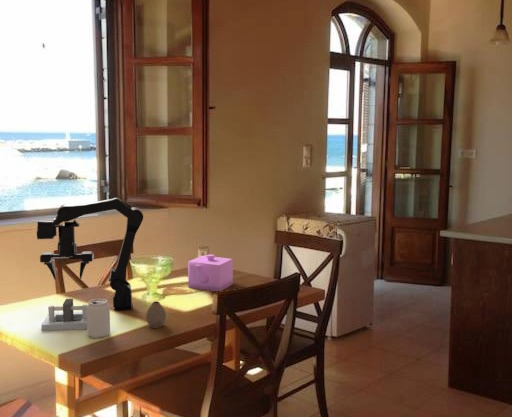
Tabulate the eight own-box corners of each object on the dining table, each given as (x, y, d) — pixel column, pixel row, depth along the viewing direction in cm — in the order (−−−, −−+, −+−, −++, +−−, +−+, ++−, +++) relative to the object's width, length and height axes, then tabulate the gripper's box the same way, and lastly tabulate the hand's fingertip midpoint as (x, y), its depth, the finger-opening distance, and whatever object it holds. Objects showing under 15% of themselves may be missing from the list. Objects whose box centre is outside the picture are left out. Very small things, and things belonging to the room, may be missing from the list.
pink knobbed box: (179, 291, 256) (179, 259, 254) (207, 277, 279) (207, 248, 277) (211, 296, 250) (211, 263, 248) (237, 281, 273) (237, 251, 271)
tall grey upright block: (73, 319, 219) (72, 298, 218) (70, 325, 213) (69, 304, 211) (66, 319, 219) (66, 298, 218) (63, 325, 212) (62, 304, 211)
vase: (157, 330, 210) (156, 306, 208) (142, 327, 213) (141, 303, 212) (170, 325, 215) (169, 301, 214) (155, 321, 219) (155, 298, 218)
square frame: (93, 316, 223) (93, 299, 222) (89, 328, 211) (88, 310, 210) (49, 318, 221) (48, 300, 220) (41, 330, 208) (40, 312, 207)
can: (89, 331, 208) (88, 297, 206) (111, 331, 209) (111, 297, 207) (85, 339, 201) (84, 304, 199) (108, 339, 201) (107, 304, 200)
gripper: (95, 233, 234) (96, 273, 237) (45, 234, 232) (46, 274, 234) (91, 239, 223) (92, 280, 226) (38, 240, 221) (40, 281, 223)
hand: (68, 279), depth 227 cm, fingers open, 9 cm apart
